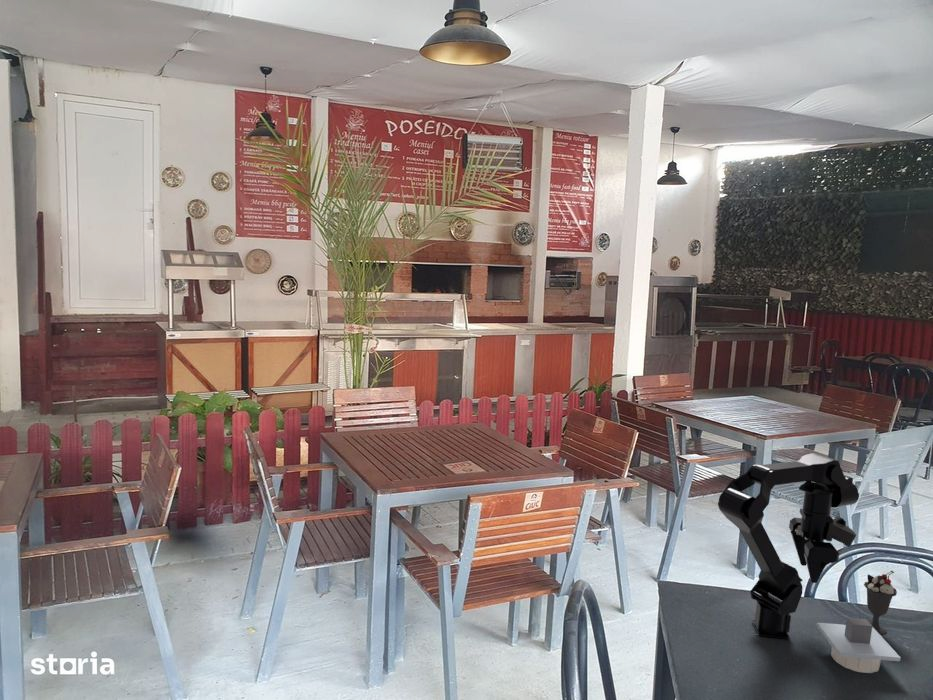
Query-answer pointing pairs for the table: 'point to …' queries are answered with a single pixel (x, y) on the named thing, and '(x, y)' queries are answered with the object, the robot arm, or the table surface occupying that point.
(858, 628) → the lid
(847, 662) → the bowl
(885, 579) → the sundae
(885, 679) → the table surface
